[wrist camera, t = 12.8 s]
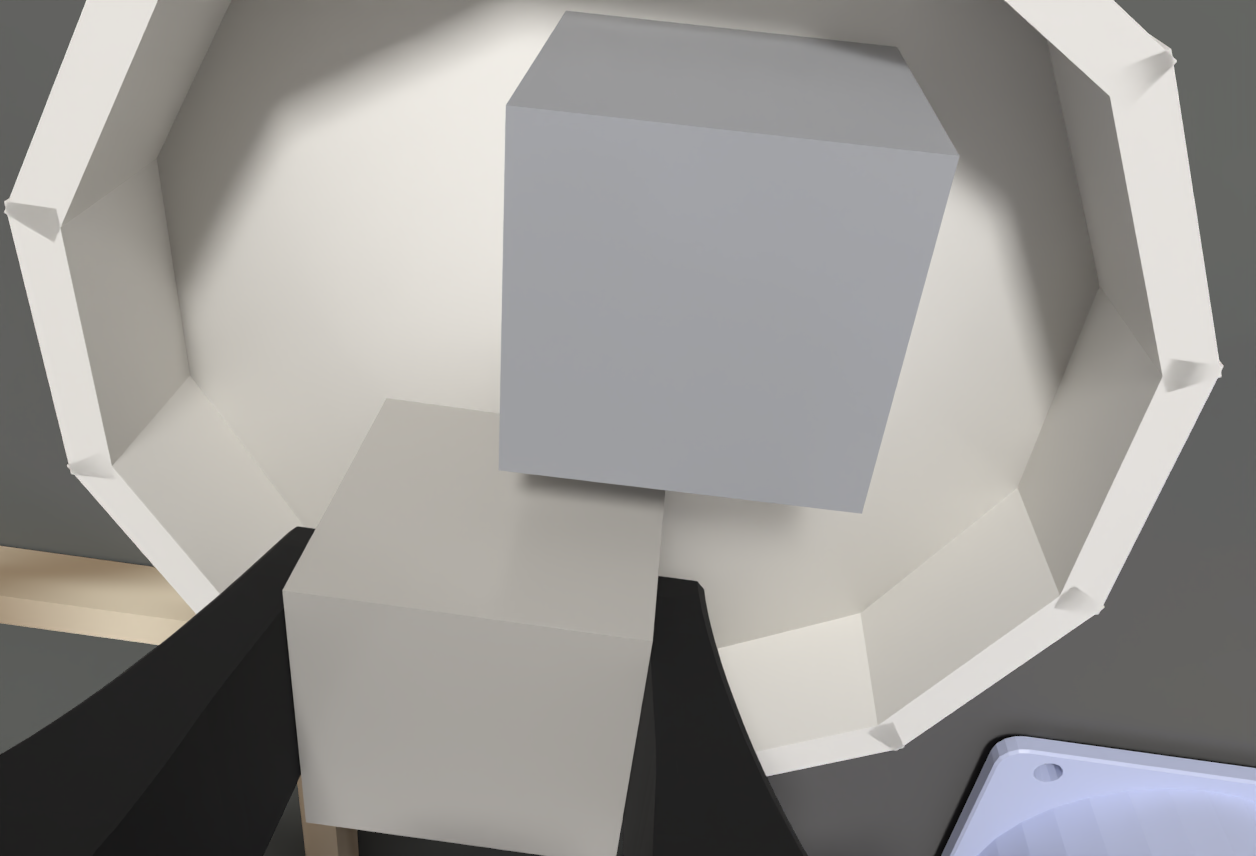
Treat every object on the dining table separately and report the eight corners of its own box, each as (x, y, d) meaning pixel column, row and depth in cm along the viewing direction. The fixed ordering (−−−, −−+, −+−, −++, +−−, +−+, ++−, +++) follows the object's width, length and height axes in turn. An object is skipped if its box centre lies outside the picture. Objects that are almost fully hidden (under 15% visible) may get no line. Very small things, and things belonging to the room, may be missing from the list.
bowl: (1317, -168, 11) (1485, -144, 9) (952, 698, 19) (986, 841, 17) (54, -332, 11) (-138, -356, 9) (207, 596, 19) (130, 722, 17)
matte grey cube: (896, 45, 12) (959, 155, 9) (831, 339, 14) (861, 513, 11) (565, 10, 12) (505, 105, 9) (551, 306, 15) (498, 470, 11)
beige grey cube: (669, 436, 14) (653, 641, 11) (637, 641, 16) (613, 865, 13) (386, 397, 14) (282, 590, 11) (391, 608, 16) (306, 822, 13)
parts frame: (341, 592, 19) (319, 639, 18) (365, 945, 26) (350, 994, 25) (-302, 504, 19) (-358, 546, 18) (-110, 879, 26) (-144, 925, 25)
